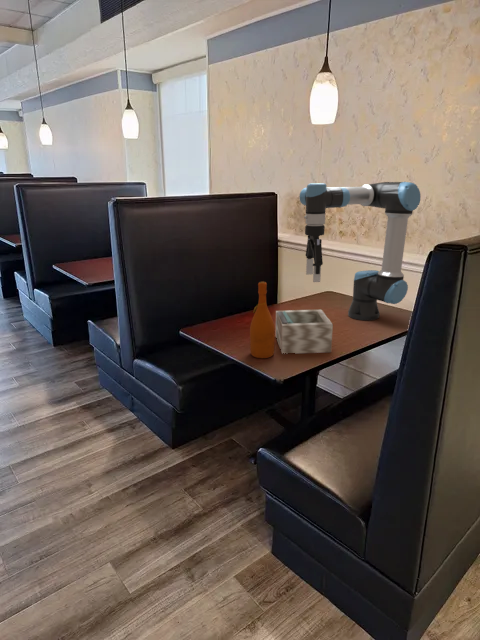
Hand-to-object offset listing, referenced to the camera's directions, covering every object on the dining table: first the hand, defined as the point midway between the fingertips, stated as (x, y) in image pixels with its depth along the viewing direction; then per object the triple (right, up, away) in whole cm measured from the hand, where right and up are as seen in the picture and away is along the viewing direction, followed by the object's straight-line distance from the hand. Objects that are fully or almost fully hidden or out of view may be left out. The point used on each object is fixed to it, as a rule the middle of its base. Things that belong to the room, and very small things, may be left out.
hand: (312, 278), depth 175 cm
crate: (-3, -27, +9) cm, 29 cm away
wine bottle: (-21, -31, -1) cm, 37 cm away
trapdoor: (-7, -21, +7) cm, 23 cm away
